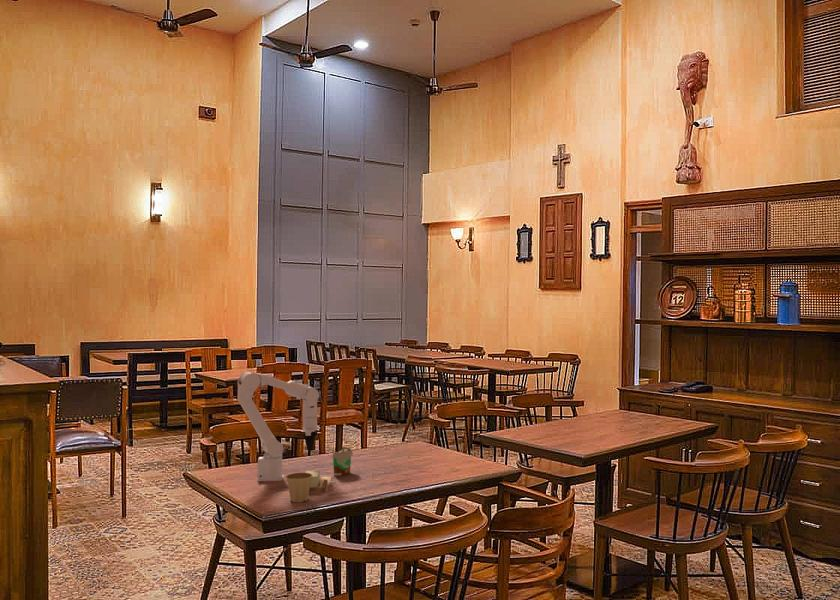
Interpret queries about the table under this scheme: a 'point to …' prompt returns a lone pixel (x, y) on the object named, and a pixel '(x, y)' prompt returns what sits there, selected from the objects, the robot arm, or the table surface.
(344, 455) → the food container
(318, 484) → the cream rectangular block
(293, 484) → the flower pot
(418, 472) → the table surface
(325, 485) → the dock board
